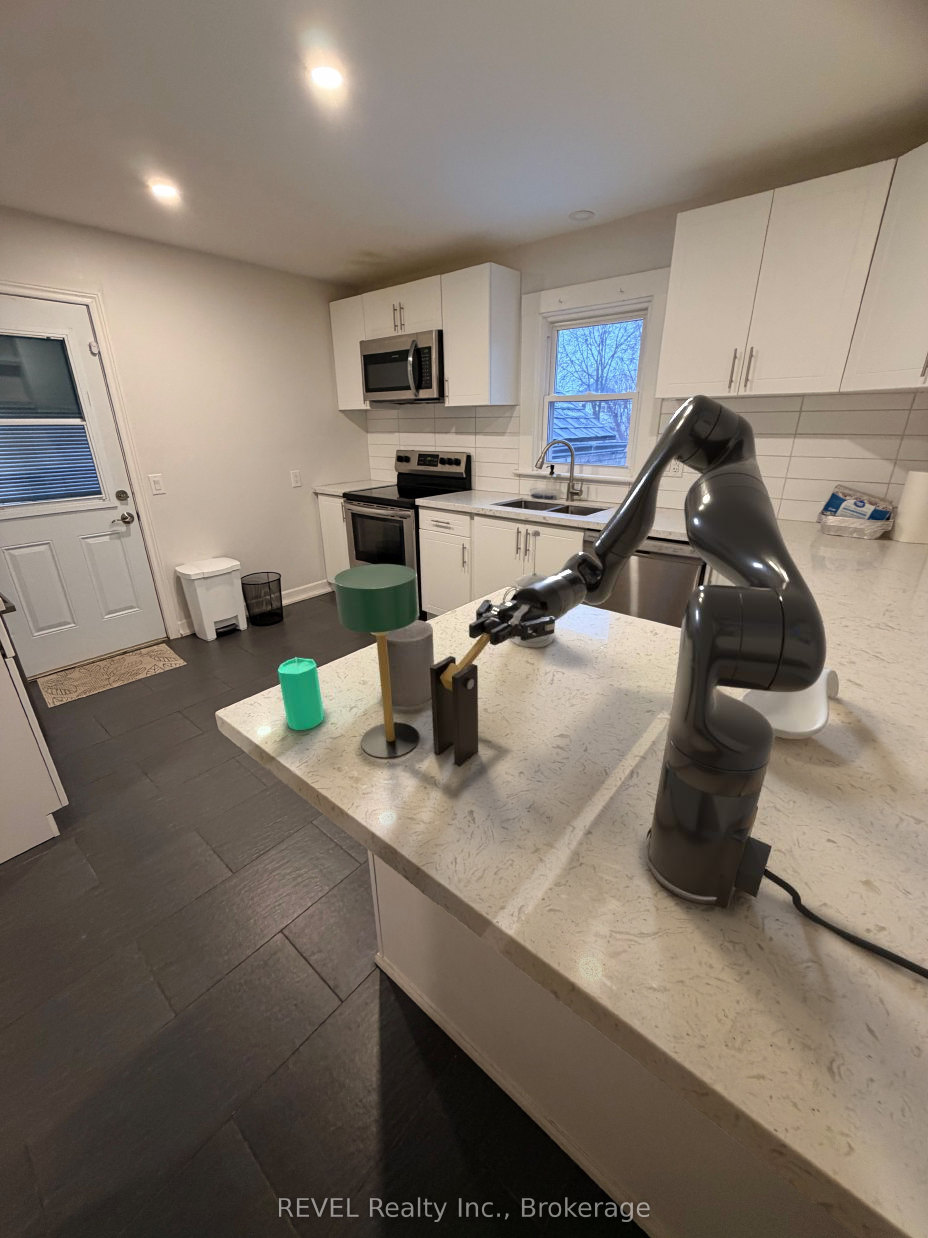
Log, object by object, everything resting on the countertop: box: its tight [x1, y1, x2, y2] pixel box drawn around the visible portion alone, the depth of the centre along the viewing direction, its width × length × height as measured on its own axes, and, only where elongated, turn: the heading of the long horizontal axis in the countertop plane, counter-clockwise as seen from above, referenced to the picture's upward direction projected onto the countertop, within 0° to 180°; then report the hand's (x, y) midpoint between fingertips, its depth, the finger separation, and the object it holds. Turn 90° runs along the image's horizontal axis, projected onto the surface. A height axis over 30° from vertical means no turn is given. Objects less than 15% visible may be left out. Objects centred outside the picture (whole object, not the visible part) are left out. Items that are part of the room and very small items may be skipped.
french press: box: [502, 529, 554, 648], centre depth 109 cm, size 10×12×25 cm
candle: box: [277, 656, 325, 731], centre depth 82 cm, size 6×6×12 cm
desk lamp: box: [333, 563, 421, 760], centre depth 71 cm, size 15×11×28 cm
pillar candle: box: [386, 619, 435, 707], centre depth 87 cm, size 10×10×15 cm
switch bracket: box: [430, 655, 479, 768], centre depth 71 cm, size 12×9×16 cm
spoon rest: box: [740, 668, 840, 740], centre depth 82 cm, size 24×12×7 cm, turn 128°
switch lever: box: [440, 618, 502, 690], centre depth 71 cm, size 13×3×3 cm, turn 140°
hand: (481, 635), depth 71 cm, fingers closed on switch lever, 3 cm apart
